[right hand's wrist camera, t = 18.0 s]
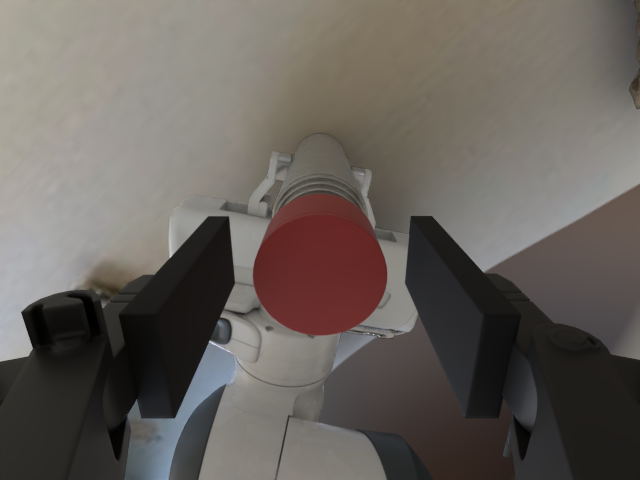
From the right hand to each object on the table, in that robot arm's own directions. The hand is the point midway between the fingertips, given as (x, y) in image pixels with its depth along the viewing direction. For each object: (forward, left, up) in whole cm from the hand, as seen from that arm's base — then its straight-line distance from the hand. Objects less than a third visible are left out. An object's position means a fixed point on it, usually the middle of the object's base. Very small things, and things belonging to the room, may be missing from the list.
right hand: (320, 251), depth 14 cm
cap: (0, 0, +2) cm, 2 cm away
